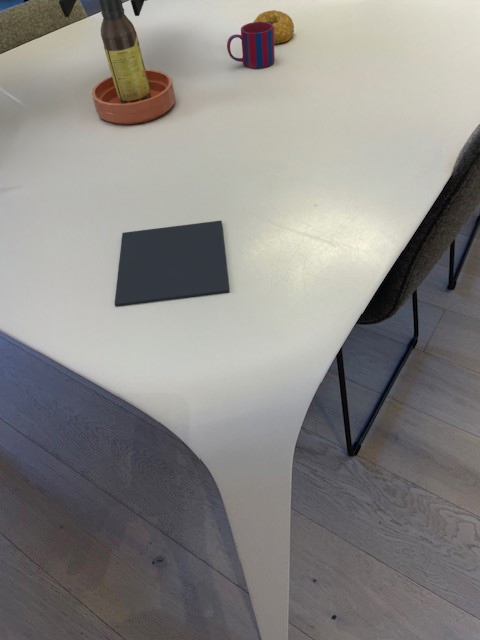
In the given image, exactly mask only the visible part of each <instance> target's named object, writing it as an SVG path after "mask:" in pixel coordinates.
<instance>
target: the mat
mask: <svg viewBox="0 0 480 640" xmlns="http://www.w3.org/2000/svg"><path fill="white" fill-rule="evenodd" d="M222 221H223V220H214V221H213V220H212V221H206V222H199V223H190V224H189V223H188V224H182V225H175V226H174V225H173V226H167V227H165V226H164V227H158V228H157V227H156V228H149V229H141V230H133V231H124V232H122V234H121V241H120V251H119V260H118V269H117V278H116V285H115V286H116V287H115V288H116V289H115V298H114V307H123V306H128V305H137V304H138V305H139V304H147V303H152V302H153V303H154V302H161V301H162V302H163V301H170V300H176V299H187V298H194V297H201V296H211V295H217V294H226V293H230V284H229V276H228V275H229V274H228V265H227V257H226V247H225V246H226V245H225V237H224V230H223V229H224V227H223V222H222Z"/></svg>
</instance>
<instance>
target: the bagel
mask: <svg viewBox="0 0 480 640" xmlns="http://www.w3.org/2000/svg"><path fill="white" fill-rule="evenodd" d="M253 22H268V23H271V24H272V25H273V26H274V45H275V44H276V45H278V44H282V43H286V42H288V41H289V40H290V39H291V38H292V36H293V34H294V33H295V30H294V29H295V24H294V22H293V18H291V16H290V15H289V14H287V13H286V12H283V11H280V10H276V9H273V10H267V11H263V12H261V13H259V14H258V15H257V16H256V18H255V19H254V20H253Z"/></svg>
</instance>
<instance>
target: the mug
mask: <svg viewBox="0 0 480 640" xmlns="http://www.w3.org/2000/svg"><path fill="white" fill-rule="evenodd" d="M237 38H238V39H240V40H241V51H242V52H241V53H242V57H237V56H234V55H233V54H232V51H231V43H232V41H233V40H234V39H237ZM226 49H227V53H228V56H229V58H231V59H232V60H234V61H236V62H241V63H243V66H244V67H246V68H249V69H253V70H254V69H255V70H258V69H260V70H261V69H265V68H268V67H271V66H272V65H273V64H274V63H275V44H274V26H273V25H272V24H271V23H268V22H254V21H253V22H249V23H246V24H244V25H242V26H241V28H240V34H232V35H231V36H229V38H228V40H227V42H226Z"/></svg>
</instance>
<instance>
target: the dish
mask: <svg viewBox="0 0 480 640" xmlns="http://www.w3.org/2000/svg"><path fill="white" fill-rule="evenodd" d="M145 71H146V75H147V79H148V83H149V88H150V96H151V98H149V99H146V100H142V101H138V102H133V103H125V104H120V99H119V98H118V95H117V92H116V88H115V85H114V81H113V78H112V75H111V76H108V77H106V78H104V79H102V80H101V81H99V82H98V83H97V84H96V85H95V86H94V87H93V88H92V91H91V99H92V101H93V104H94V107H95V110H96V114H97V115H98V117H99V118H100V119H102V120H104V121H106V122H110V123H113V124H116V125H135V124H141V123H147V122H150V121H152V120H156V119H157V118H159V117H162V116H163V115H164V114H166V113H167V112H168V111H169V110H170V109H172V107H173V106H174V105H175V102H176V93H175V88H174V84H173V82H174V81H173V78H172V77H171V76H170V75H169V74H168V73H165V72H163V71H160V70H156V69H155V70H154V69H145Z"/></svg>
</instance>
